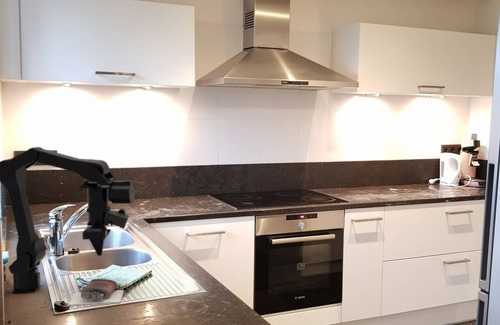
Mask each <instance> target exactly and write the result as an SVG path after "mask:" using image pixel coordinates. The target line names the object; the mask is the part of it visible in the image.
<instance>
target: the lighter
mask: <svg viewBox="0 0 500 325" xmlns="http://www.w3.org/2000/svg"><path fill="white" fill-rule="evenodd" d="M117 288H118V283H117V281H116V280H113V279H109V278H93V279H92V280H90V281H89V283H88V284H87V285H86V286H85V287H83V288H82V289H81V290H80V292H81V298H89V299H92V300H96V299H107V298H108V297H109V296H110V294H111V293H112V291H113V290H116V289H117Z"/></svg>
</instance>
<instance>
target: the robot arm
mask: <svg viewBox="0 0 500 325" xmlns="http://www.w3.org/2000/svg"><path fill="white" fill-rule="evenodd" d="M36 163H40V164H44V165H46V166H50V167H54V168H58V169H60V170H65V171H69V172H72V173H74V174H76V175H77V176H79V177H81V178H82V179H85V181H84V182H83V183H82V184H81V185H80V186H79V189H81V190H87V191H86V192H87V208H86V213H87V215H88V216H87V217H88V221H87V222H86V224H87V227H86V228H84V230H83V231H82V234H81V235H82V240H84V241H85V240H87V241H88V240H89V242H90V244H91V246H92V247H93V249H94V251H95V253H96V254H97V256H103V253H104V252H103V250H104V245H105V240H106V238H107V237H108V236H109V234H110V233H111V229H110V228H107V227H109V225H110V227H113V226H115V227H119V229H125V228H126V226H127V223H128V220H129V215H128V214H127V213H126V212H127V211H126V209H124V208H120V209H119V210H115V211H114V210H112V209H111V206H110V204H109V202H111V203H112V204H115V205H116V204H117V205H118V204H119V205H121V204H124V205H126V204H131V205H132V204H133V203H134V201H135V197H136V194H135V193H136V191H135V188H134V184H133V180H130V179H126V180H118V179H117V178H116V177H115V176H114V174H113V173H112V171H110V166H109V164H108V162H106V161H105V160H101V159H91V158H79V157H74V156H70V155H66V154H64V153H61V152H56V151H52V150H49V149H44V148H43V147H40V146H36V147H30V148H28V149H27V150H25V151H24V152H22V153H20V154H17V155H15V156H14V157H12V158H8V159H3V160H1V161H0V183H1V185H2V186H3V187H4V188H5V190H6V192H7V194H8V199H9V203H10V208H11V211H12V216H13V221H14V224H15V229H16V233H17V244H16V248H15V250H16V252H15V255H16V259H15V260H14V261H13V262H11V264H10V265H9V266H8V269H9V270H8V271H9V272H10V274H12V275H13V276H12V278H13V279H12V280H13V282H12V283H13V290H12V291H11V294H24V293H26V294H27V293H35V292H37V290H38V289H39V287H40V286H41V285H42V284H41V272H40V271H39V267H38V266H40V264H41V261H42V260H44V258H45V257H46V254H47V251H48V247H47V245H46V239H45V237H44V236H42V237H40V236H38V234H37V232H36V229H35V226H34V221H33V216H32V211H31V209H30V203H29V198H28V195H27V192H26V191H27V190H26V184H27V179H28V169H30V168H32V167H33V166H34V165H35V164H36Z"/></svg>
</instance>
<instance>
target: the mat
mask: <svg viewBox="0 0 500 325" xmlns="http://www.w3.org/2000/svg"><path fill="white" fill-rule="evenodd" d="M124 291H125V290H124V289H117V290H116V289H115V290H113V291H112V293H111V294H110V296H109V297H108V298H107V299H96V300H92V299H89V298H81V291H77V292H74V293H73V294H72V296H71V297H70V299H69V301H68V303H67V306H68V305H69V306H68V307H81V306H97V305H100V306H101V305H115V304H116V305H118V304H121V302H122V299H123V295H124Z"/></svg>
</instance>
